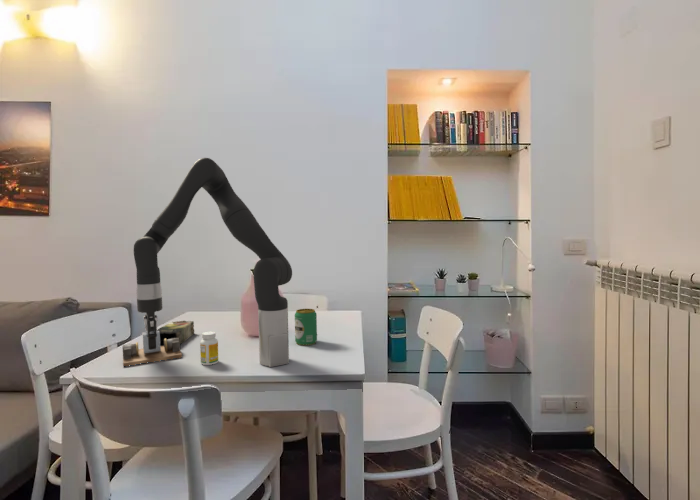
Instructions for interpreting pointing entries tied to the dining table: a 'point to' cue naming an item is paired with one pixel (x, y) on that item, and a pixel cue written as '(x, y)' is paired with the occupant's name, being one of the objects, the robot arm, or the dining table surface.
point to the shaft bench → (151, 353)
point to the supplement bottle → (209, 348)
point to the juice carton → (177, 330)
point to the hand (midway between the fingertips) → (151, 346)
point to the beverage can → (305, 327)
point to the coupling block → (146, 345)
